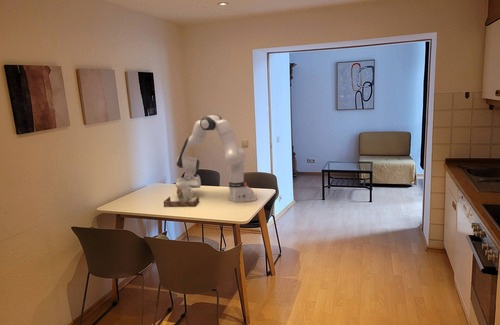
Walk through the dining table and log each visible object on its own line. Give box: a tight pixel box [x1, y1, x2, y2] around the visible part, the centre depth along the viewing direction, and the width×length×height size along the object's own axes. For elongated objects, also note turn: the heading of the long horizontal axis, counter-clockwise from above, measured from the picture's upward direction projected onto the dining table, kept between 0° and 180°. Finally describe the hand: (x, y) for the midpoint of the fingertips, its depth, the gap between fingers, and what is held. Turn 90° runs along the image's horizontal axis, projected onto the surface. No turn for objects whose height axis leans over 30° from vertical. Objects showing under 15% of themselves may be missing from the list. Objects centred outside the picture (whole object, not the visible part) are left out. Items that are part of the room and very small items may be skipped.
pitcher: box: [175, 181, 195, 201], centre depth 299 cm, size 11×18×14 cm, turn 57°
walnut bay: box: [163, 196, 200, 208], centre depth 291 cm, size 24×13×4 cm, turn 84°
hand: (187, 192), depth 306 cm, fingers closed
